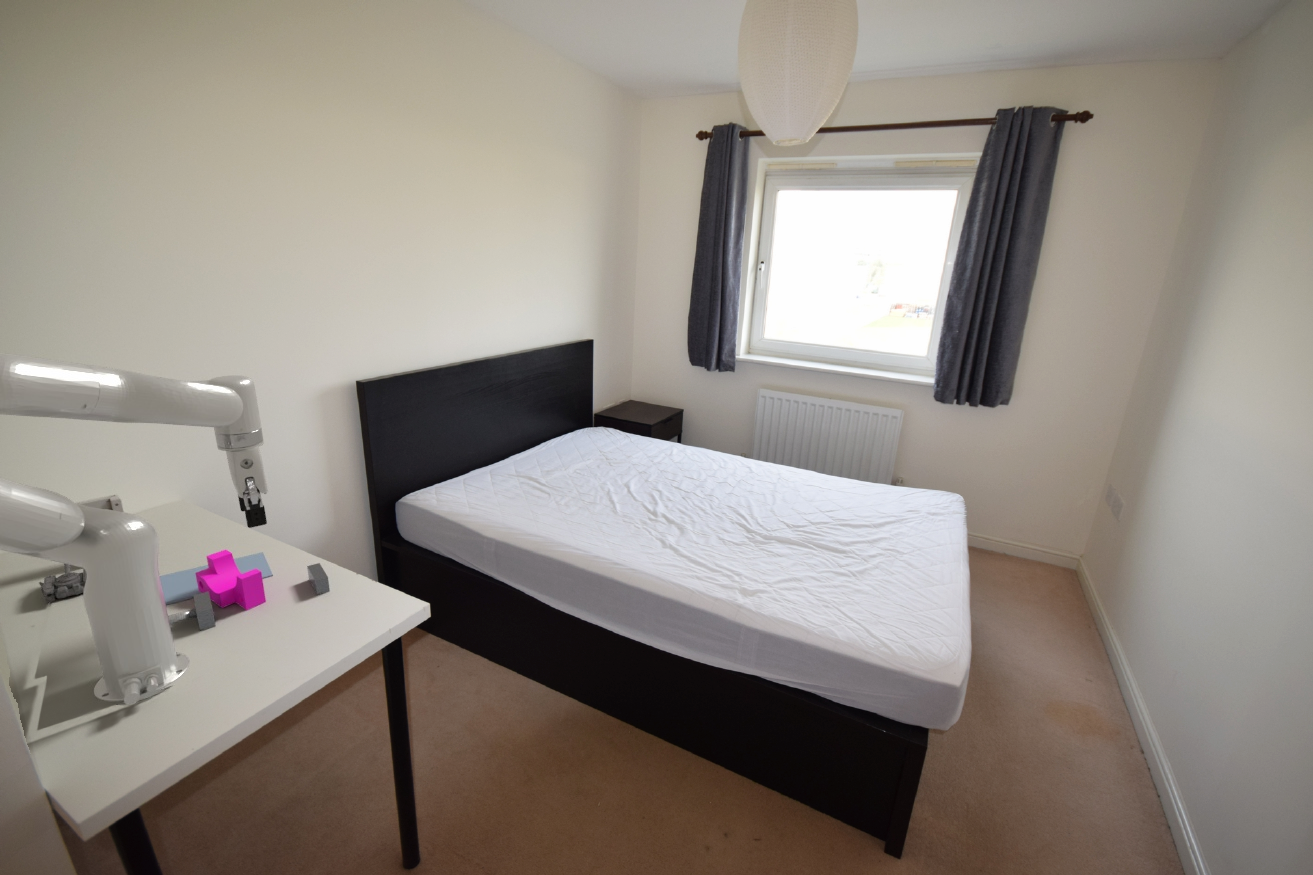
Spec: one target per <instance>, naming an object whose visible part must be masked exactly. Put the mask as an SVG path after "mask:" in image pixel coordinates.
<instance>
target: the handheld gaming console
mask: <svg viewBox="0 0 1313 875" xmlns="http://www.w3.org/2000/svg"><path fill="white" fill-rule="evenodd" d="M75 503H76V504H80V505H84V506H89V507H94V508H100V509H108V510H114V511H119V512H125V511H124V507H123V503H122V498H121V497H120V496H119V495H118V494H112V495H105V496H102V497H97V498H92V499H87V500H82V501H76V502H75Z"/></svg>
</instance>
